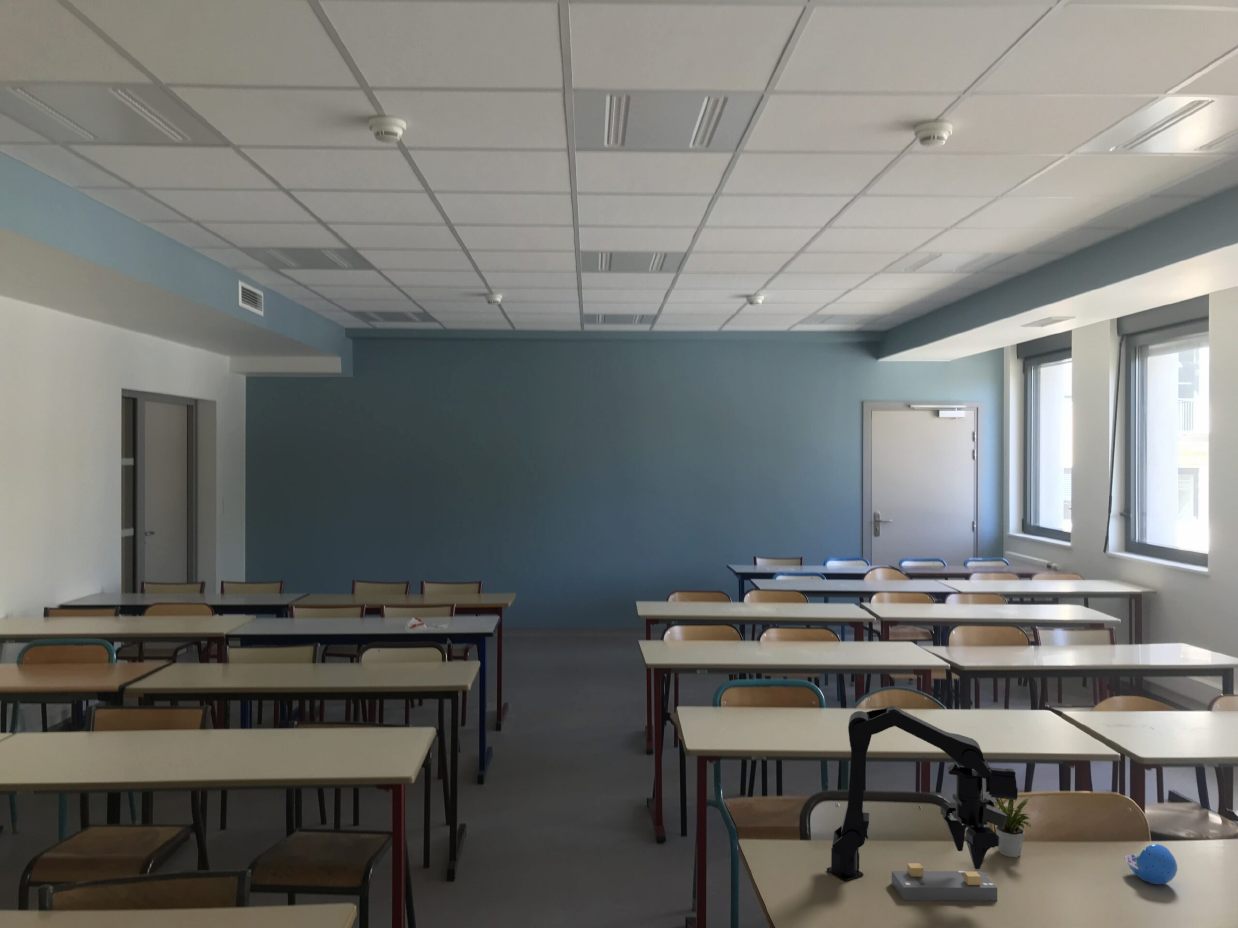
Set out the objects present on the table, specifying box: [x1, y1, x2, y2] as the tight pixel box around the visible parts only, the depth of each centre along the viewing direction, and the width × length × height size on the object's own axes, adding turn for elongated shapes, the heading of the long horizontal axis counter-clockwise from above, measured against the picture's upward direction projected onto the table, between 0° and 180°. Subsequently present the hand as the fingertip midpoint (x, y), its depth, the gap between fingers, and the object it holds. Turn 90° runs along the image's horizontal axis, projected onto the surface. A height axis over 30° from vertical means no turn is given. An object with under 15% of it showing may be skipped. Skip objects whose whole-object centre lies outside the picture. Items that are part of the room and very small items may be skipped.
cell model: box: [1123, 843, 1178, 885], centre depth 200 cm, size 10×12×10 cm
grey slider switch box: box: [891, 870, 998, 902], centre depth 193 cm, size 22×8×3 cm, turn 91°
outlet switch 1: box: [906, 862, 924, 877], centre depth 195 cm, size 3×2×2 cm
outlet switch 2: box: [963, 870, 981, 885], centre depth 191 cm, size 3×2×2 cm
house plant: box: [982, 791, 1033, 858], centre depth 214 cm, size 14×14×16 cm
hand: (968, 859), depth 193 cm, fingers open, 9 cm apart
